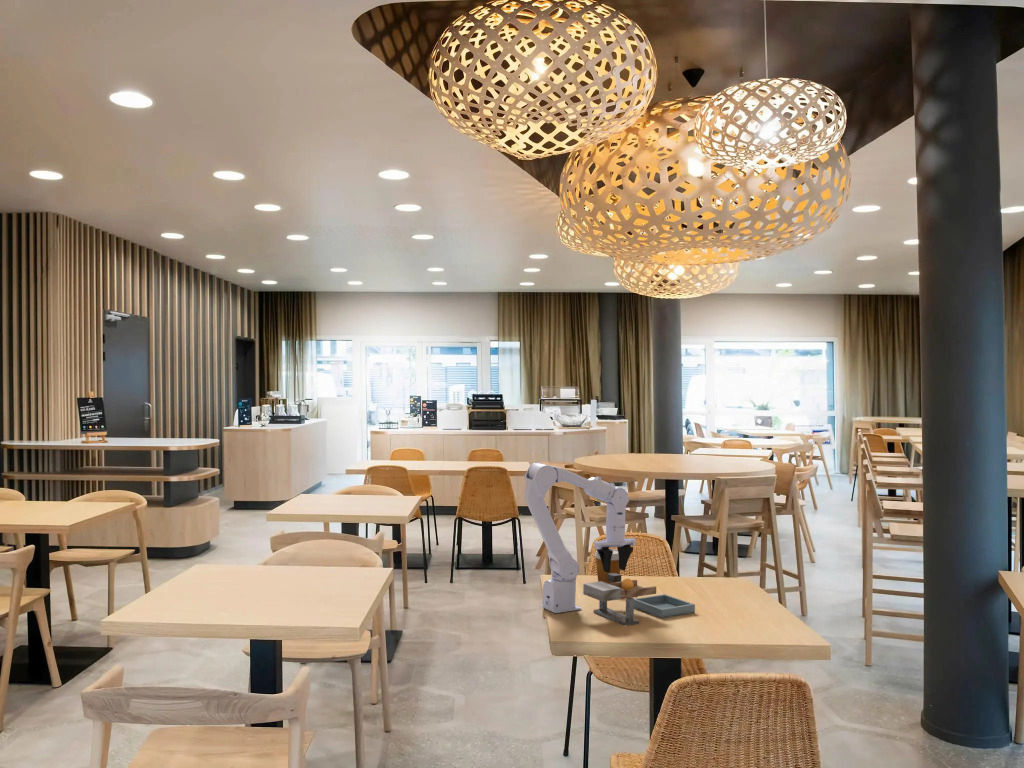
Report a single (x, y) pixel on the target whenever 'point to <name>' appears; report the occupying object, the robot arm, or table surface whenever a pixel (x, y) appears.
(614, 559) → the disposable coffee cup
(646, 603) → the tray
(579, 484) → the robot arm
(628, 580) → the ball
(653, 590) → the chute
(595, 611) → the chute stand
